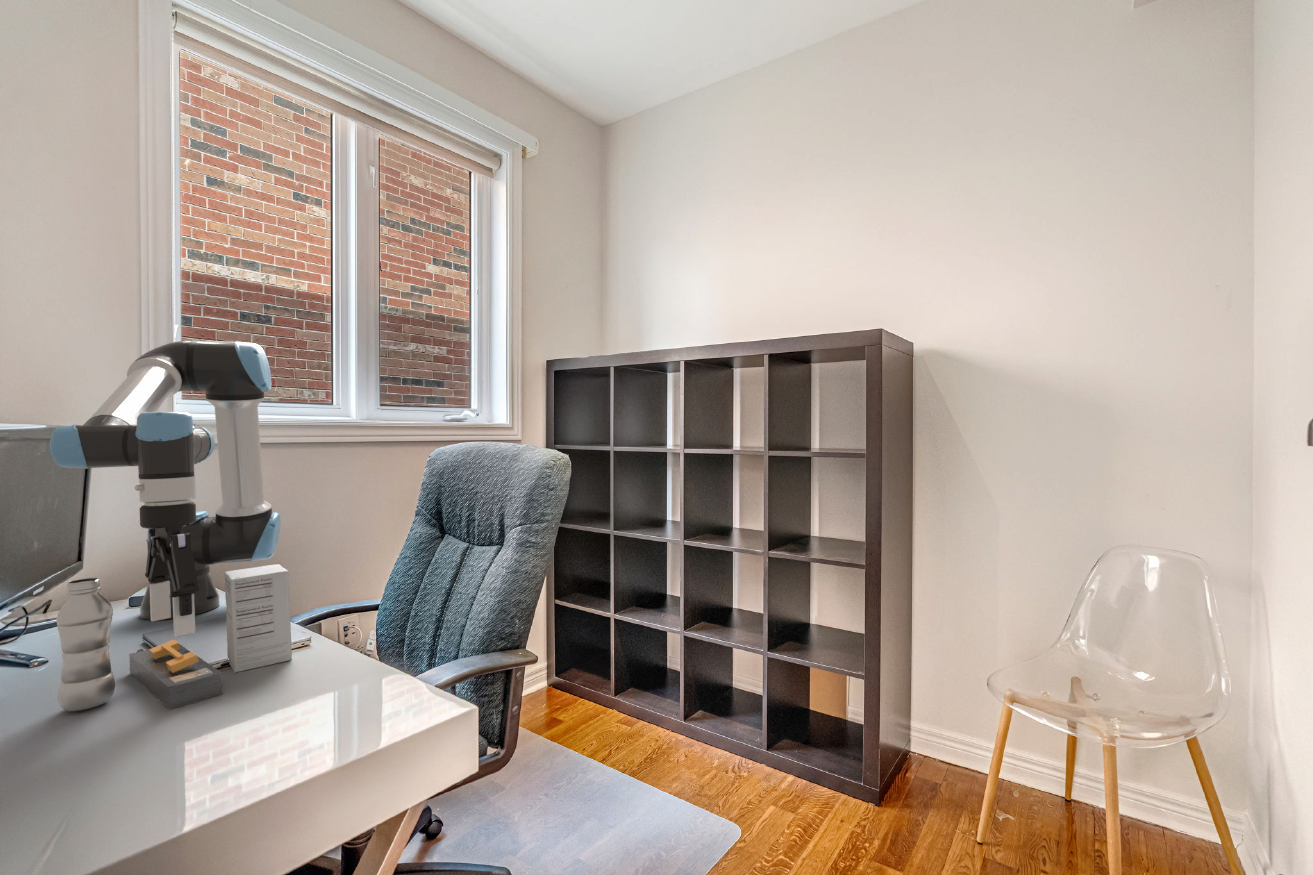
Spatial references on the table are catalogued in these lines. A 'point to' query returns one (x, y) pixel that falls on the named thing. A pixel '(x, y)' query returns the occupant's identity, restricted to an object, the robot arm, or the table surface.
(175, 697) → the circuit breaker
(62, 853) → the table surface
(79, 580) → the plastic bottle
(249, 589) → the supplement box
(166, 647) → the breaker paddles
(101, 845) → the table surface
